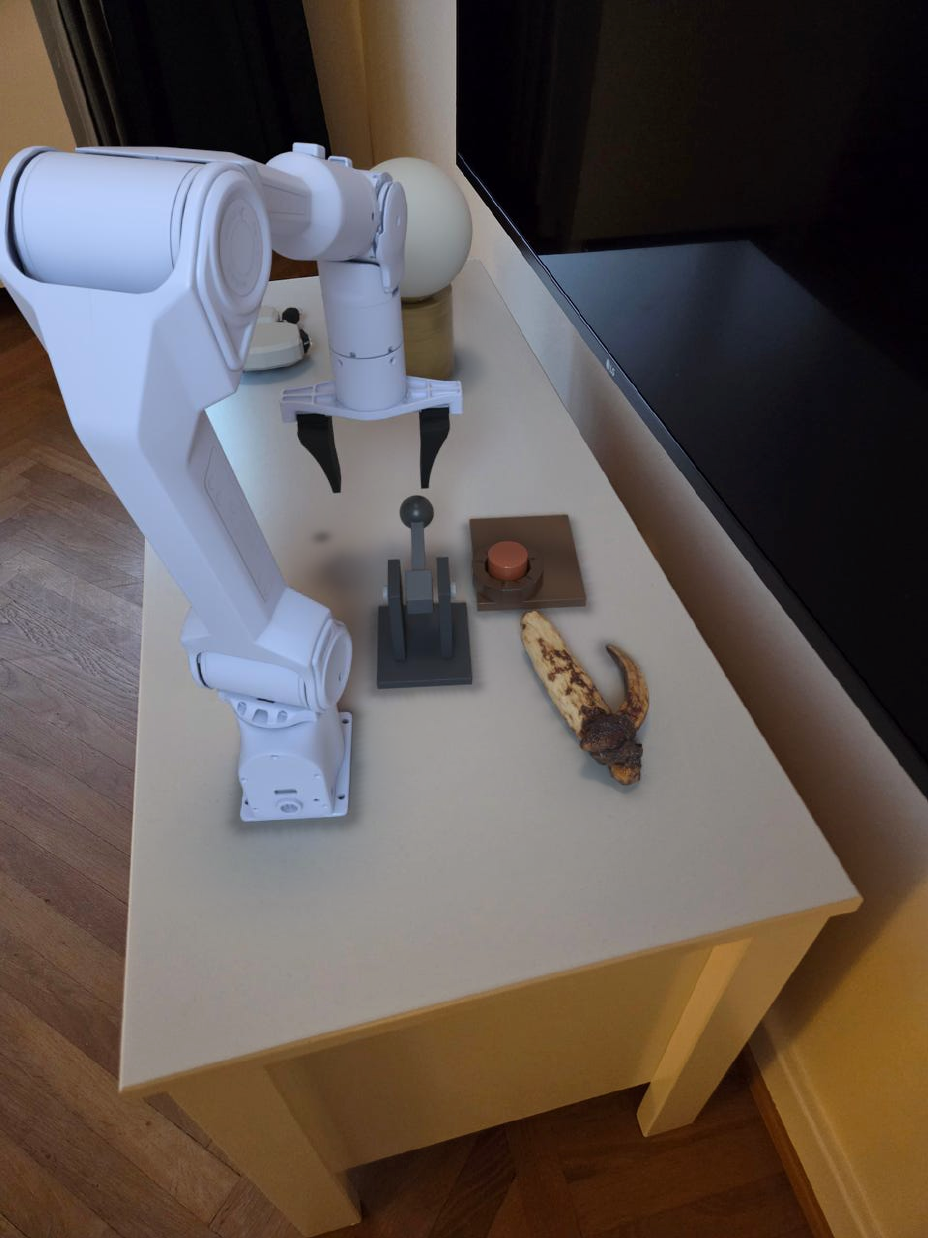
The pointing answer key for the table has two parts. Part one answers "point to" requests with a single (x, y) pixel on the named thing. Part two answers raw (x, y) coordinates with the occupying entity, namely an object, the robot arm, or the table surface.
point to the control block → (528, 564)
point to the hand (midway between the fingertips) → (380, 483)
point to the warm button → (507, 561)
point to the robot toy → (277, 340)
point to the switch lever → (418, 555)
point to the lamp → (430, 263)
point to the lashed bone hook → (590, 699)
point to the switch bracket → (422, 637)
